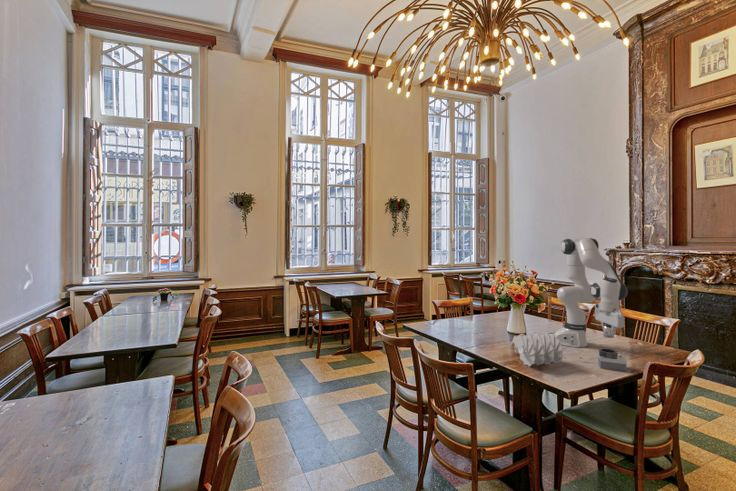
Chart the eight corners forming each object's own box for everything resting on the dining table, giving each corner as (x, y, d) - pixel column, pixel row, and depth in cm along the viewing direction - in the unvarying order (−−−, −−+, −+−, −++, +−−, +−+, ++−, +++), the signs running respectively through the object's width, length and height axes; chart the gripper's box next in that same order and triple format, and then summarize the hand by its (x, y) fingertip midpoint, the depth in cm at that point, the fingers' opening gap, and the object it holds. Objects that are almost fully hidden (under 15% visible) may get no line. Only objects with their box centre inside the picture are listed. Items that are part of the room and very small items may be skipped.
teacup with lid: (524, 350, 242) (525, 332, 242) (533, 354, 233) (533, 335, 233) (507, 350, 240) (507, 332, 240) (514, 355, 231) (515, 336, 231)
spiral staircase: (561, 371, 216) (524, 373, 209) (541, 349, 231) (507, 351, 224) (574, 346, 208) (536, 348, 201) (553, 326, 224) (517, 326, 216)
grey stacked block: (599, 368, 211) (600, 352, 210) (597, 363, 219) (598, 347, 219) (626, 371, 206) (626, 355, 205) (623, 366, 214) (623, 350, 214)
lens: (603, 337, 211) (603, 324, 211) (602, 334, 216) (602, 322, 216) (615, 338, 209) (615, 325, 209) (613, 336, 214) (613, 323, 214)
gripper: (628, 311, 202) (627, 337, 202) (603, 304, 222) (602, 327, 222) (616, 311, 201) (615, 337, 202) (592, 303, 222) (592, 327, 222)
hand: (608, 332), depth 212 cm, fingers closed on lens, 5 cm apart
